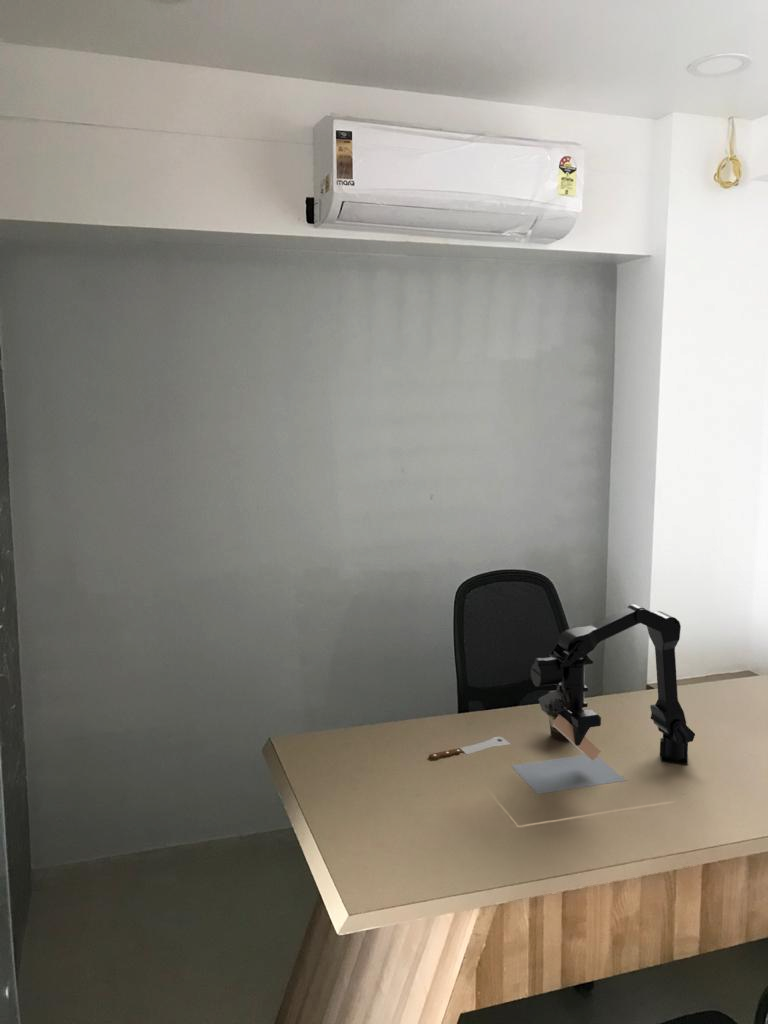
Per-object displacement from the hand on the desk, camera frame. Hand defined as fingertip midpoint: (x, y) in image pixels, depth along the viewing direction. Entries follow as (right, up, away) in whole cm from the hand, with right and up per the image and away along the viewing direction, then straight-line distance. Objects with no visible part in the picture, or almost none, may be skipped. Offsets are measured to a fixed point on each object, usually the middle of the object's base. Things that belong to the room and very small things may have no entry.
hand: (571, 740), depth 219 cm
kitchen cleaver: (-23, -8, +14) cm, 28 cm away
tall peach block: (+5, -3, +2) cm, 7 cm away
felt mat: (-1, -9, +1) cm, 9 cm away
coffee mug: (+2, -5, +24) cm, 25 cm away
